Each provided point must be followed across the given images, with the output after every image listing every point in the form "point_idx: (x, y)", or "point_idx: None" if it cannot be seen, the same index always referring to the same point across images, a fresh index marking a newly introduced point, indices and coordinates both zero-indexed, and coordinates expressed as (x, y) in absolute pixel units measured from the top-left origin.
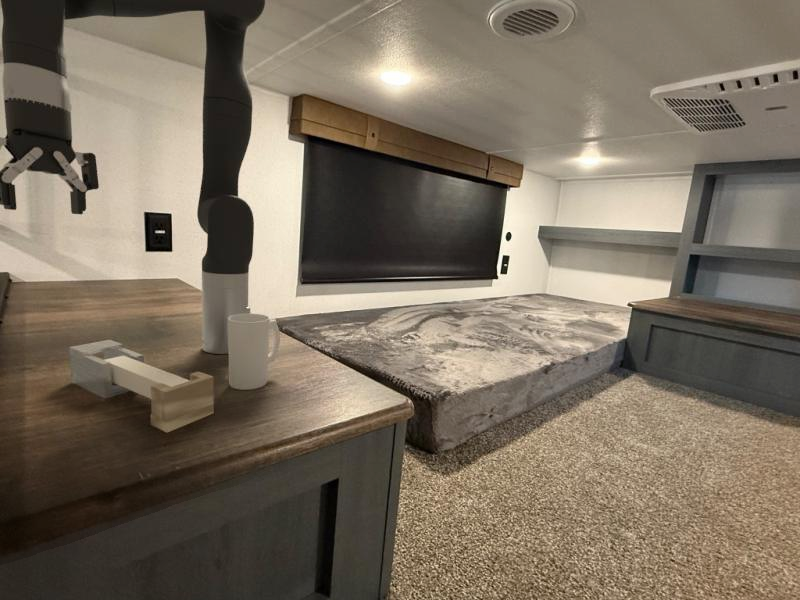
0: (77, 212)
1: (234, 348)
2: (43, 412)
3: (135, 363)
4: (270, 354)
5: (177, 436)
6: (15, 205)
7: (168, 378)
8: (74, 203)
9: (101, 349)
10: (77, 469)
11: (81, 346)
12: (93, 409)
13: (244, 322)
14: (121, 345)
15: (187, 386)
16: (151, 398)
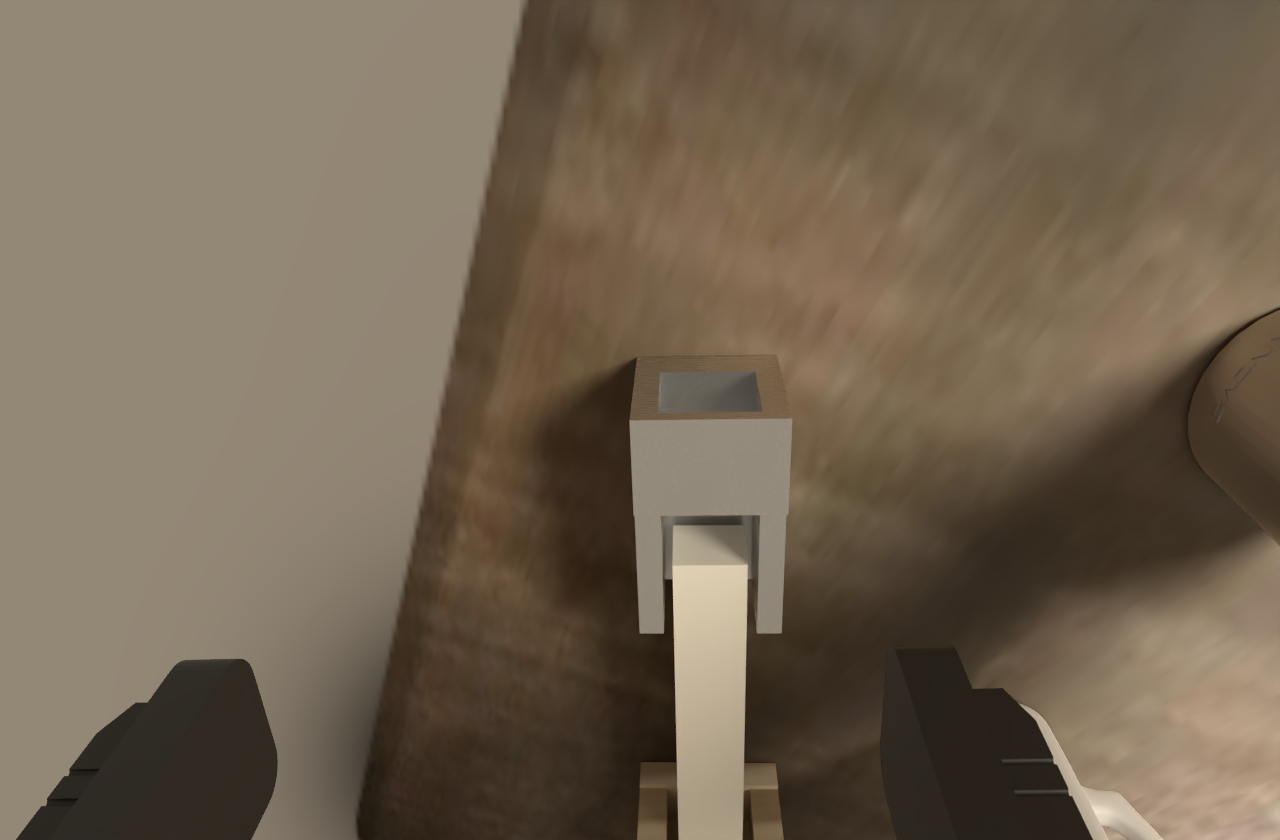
0: (886, 767)
1: None
2: (496, 527)
3: (726, 660)
4: (1112, 824)
5: None
6: (255, 816)
7: (713, 818)
8: (917, 816)
9: (704, 511)
10: (462, 805)
11: (665, 441)
12: (591, 598)
13: None
14: (783, 511)
15: None
16: (638, 828)
